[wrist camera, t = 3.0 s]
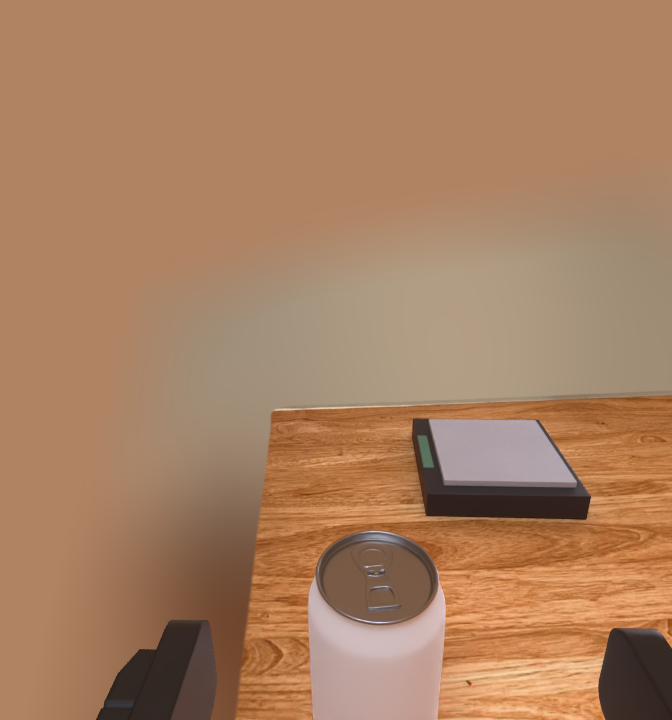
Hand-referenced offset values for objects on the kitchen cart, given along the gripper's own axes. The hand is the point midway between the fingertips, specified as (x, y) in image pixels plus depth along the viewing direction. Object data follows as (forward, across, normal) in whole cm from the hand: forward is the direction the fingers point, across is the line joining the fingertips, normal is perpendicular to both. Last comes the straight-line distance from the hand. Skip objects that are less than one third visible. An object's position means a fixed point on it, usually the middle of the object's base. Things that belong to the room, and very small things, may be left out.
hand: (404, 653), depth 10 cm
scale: (+37, -12, +20) cm, 44 cm away
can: (+11, 0, +20) cm, 23 cm away
